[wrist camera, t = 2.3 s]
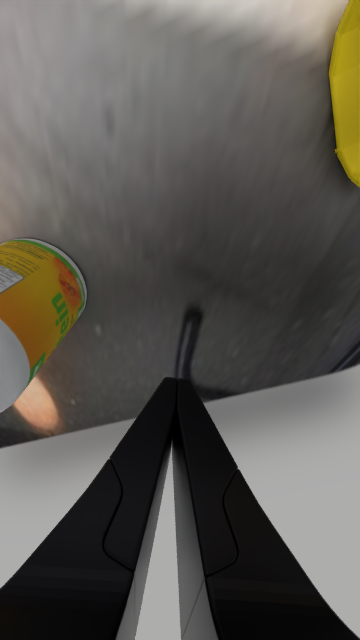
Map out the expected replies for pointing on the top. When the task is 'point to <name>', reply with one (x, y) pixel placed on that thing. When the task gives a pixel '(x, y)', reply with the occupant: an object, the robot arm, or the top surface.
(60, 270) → the supplement bottle
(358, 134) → the watch
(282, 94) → the top surface
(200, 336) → the top surface
